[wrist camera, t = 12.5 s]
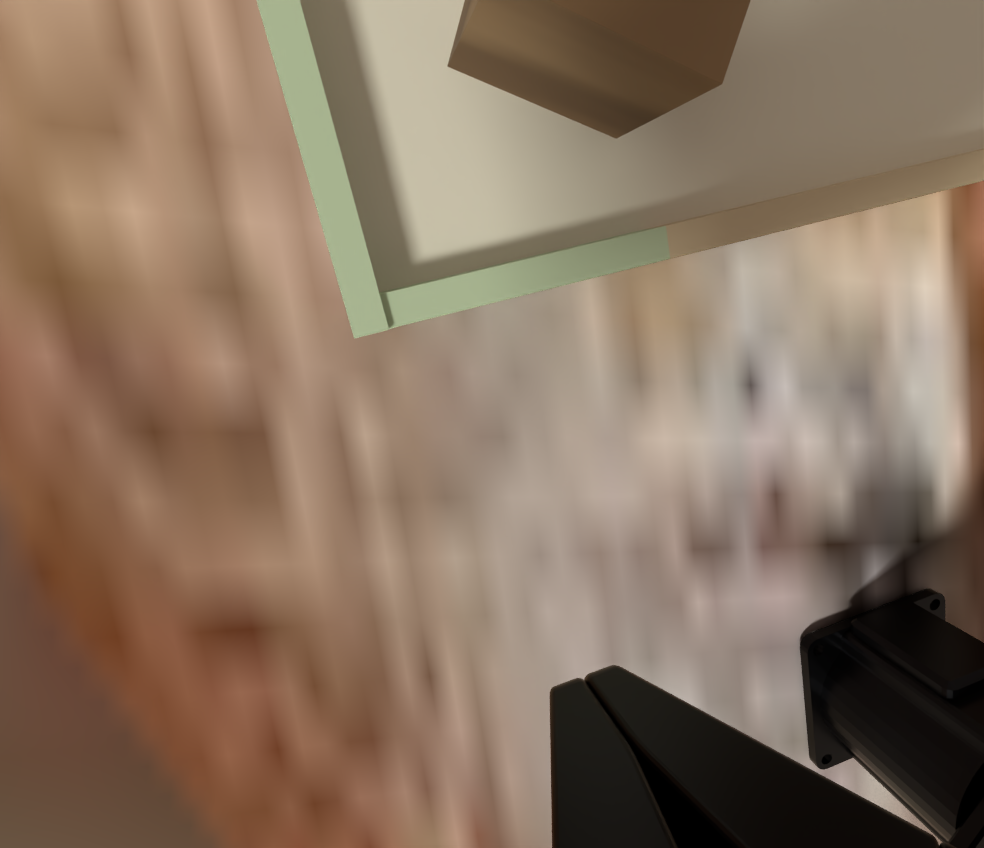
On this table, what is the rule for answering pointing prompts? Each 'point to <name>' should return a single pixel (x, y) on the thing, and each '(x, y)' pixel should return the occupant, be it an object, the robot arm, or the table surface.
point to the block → (599, 54)
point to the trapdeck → (609, 146)
